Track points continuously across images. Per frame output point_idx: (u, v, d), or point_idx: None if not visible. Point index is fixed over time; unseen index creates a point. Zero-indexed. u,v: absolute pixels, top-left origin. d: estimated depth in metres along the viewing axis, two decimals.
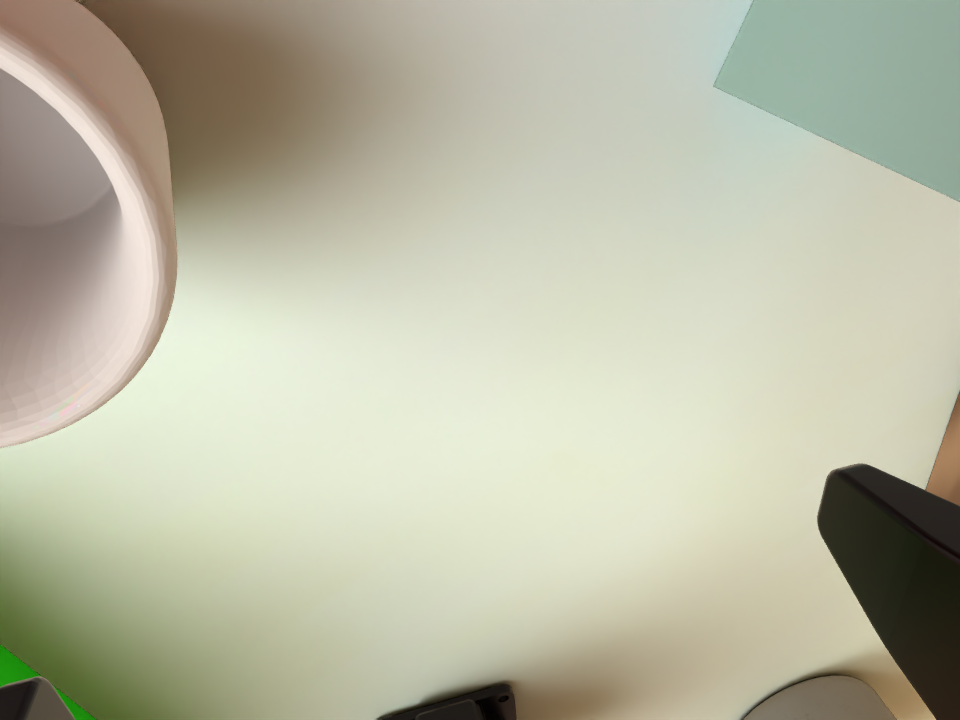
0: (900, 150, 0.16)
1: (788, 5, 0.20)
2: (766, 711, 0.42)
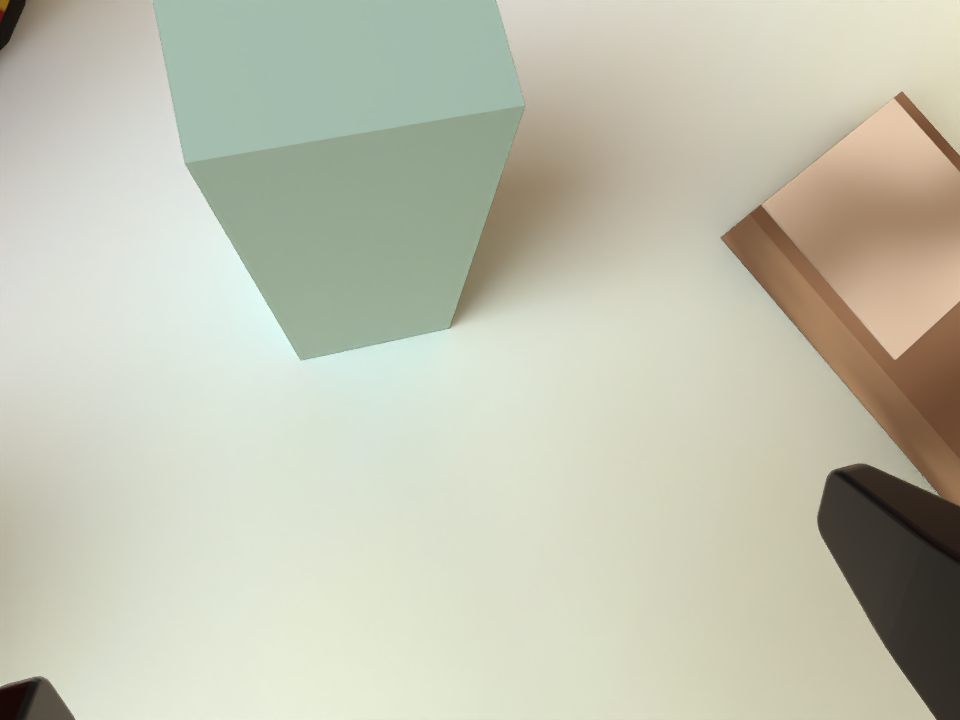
0: None
1: None
2: None
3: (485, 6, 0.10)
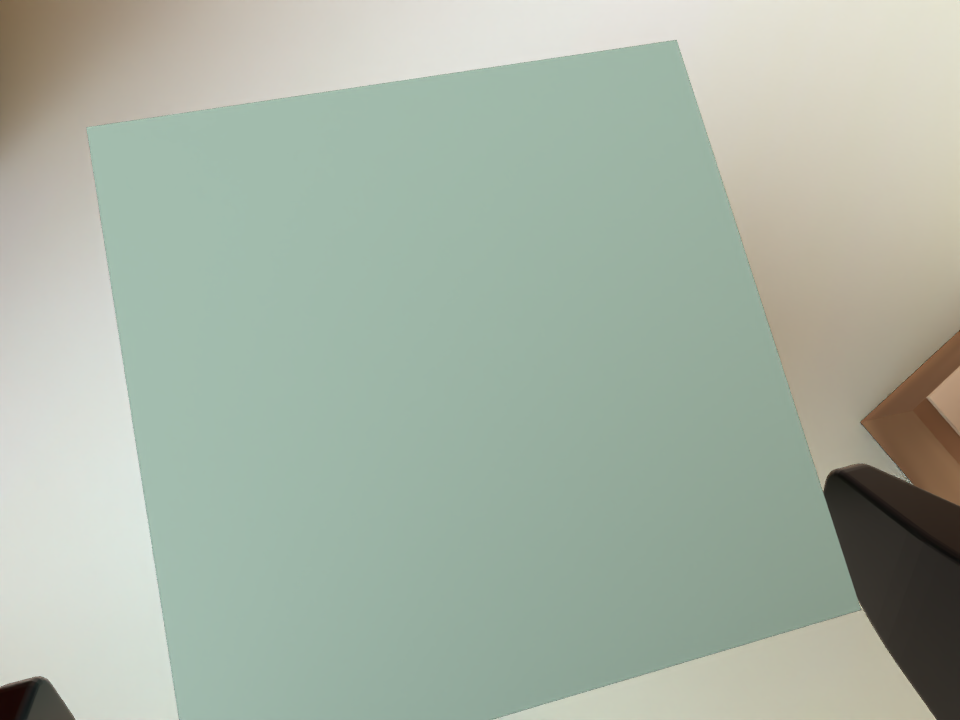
0: None
1: None
2: None
3: (771, 401, 0.05)
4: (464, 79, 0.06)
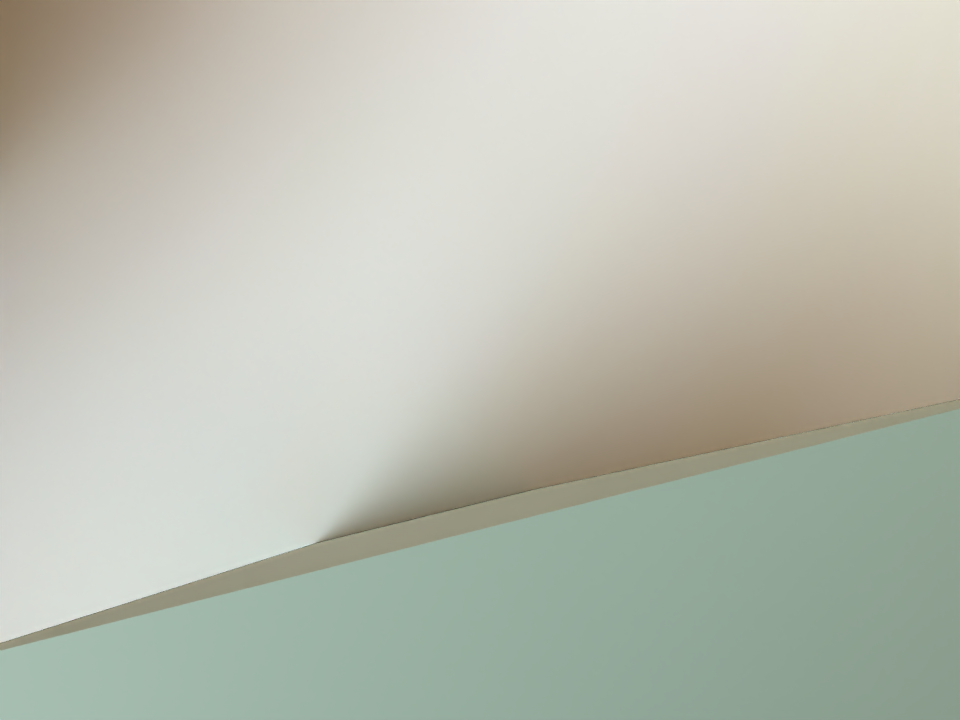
0: None
1: None
2: None
3: None
4: (773, 475, 0.03)
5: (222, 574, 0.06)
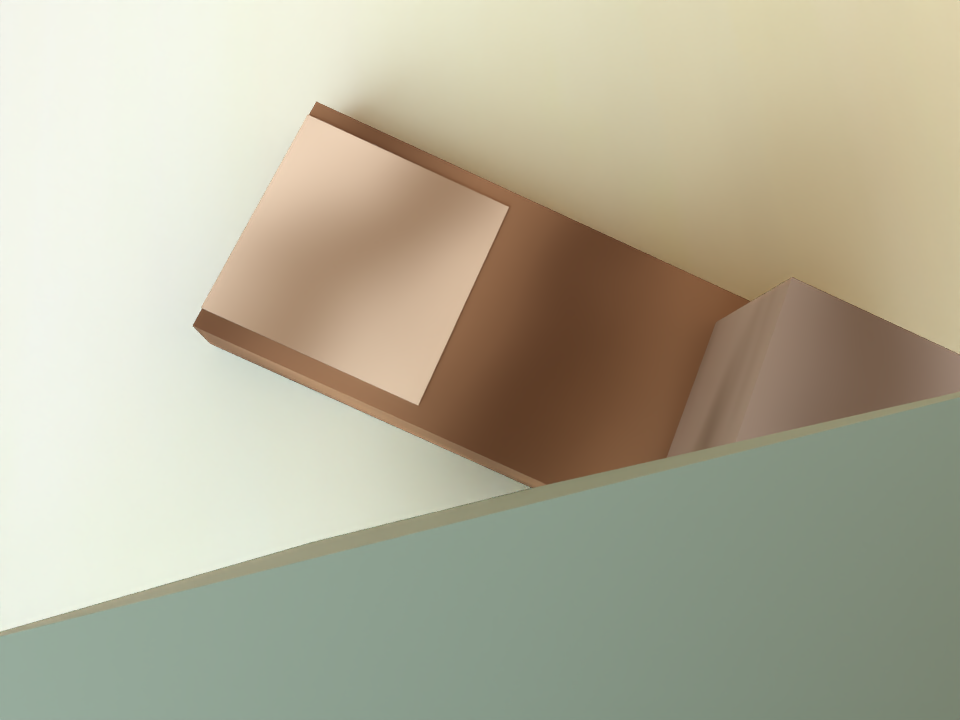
0: None
1: None
2: None
3: None
4: (773, 466, 0.03)
5: (221, 569, 0.06)
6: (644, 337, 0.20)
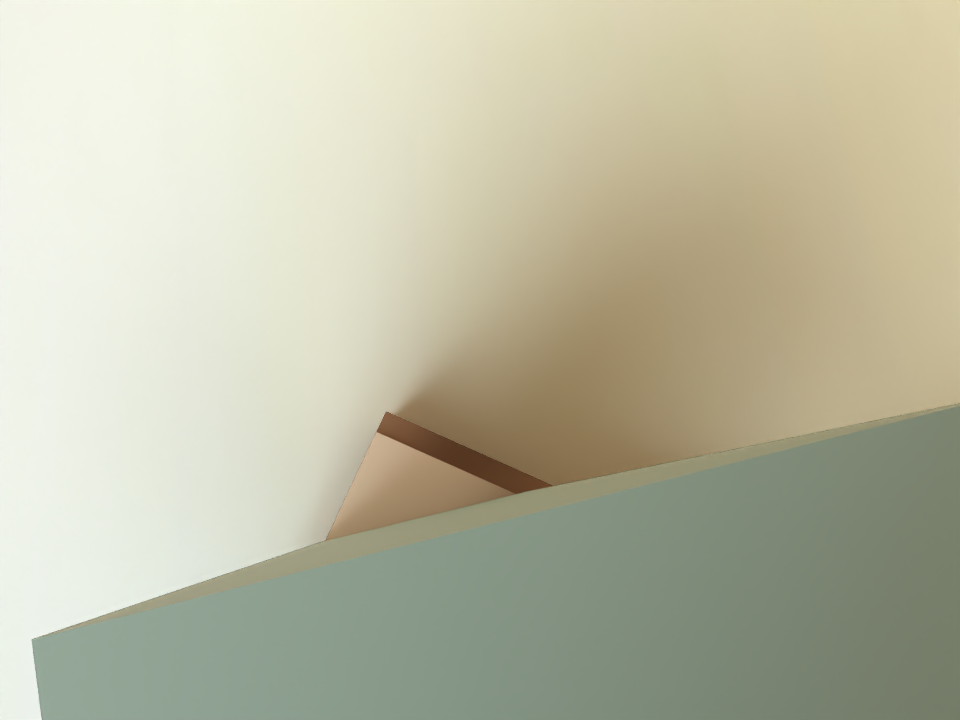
0: None
1: None
2: None
3: None
4: (683, 492, 0.03)
5: (245, 569, 0.06)
6: None
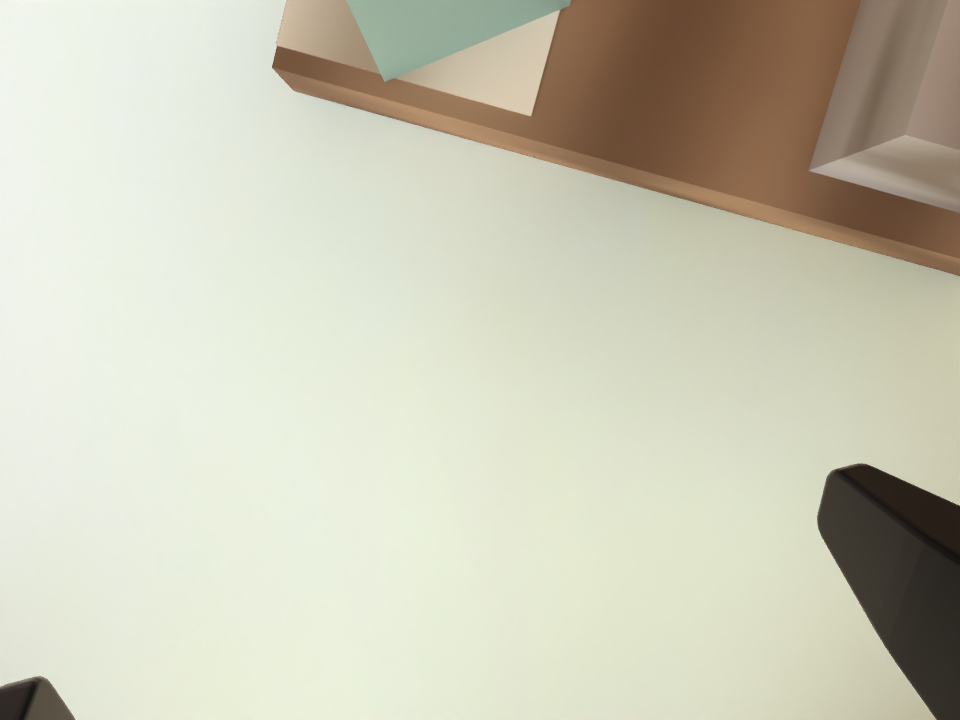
0: None
1: None
2: None
3: None
4: None
5: None
6: None
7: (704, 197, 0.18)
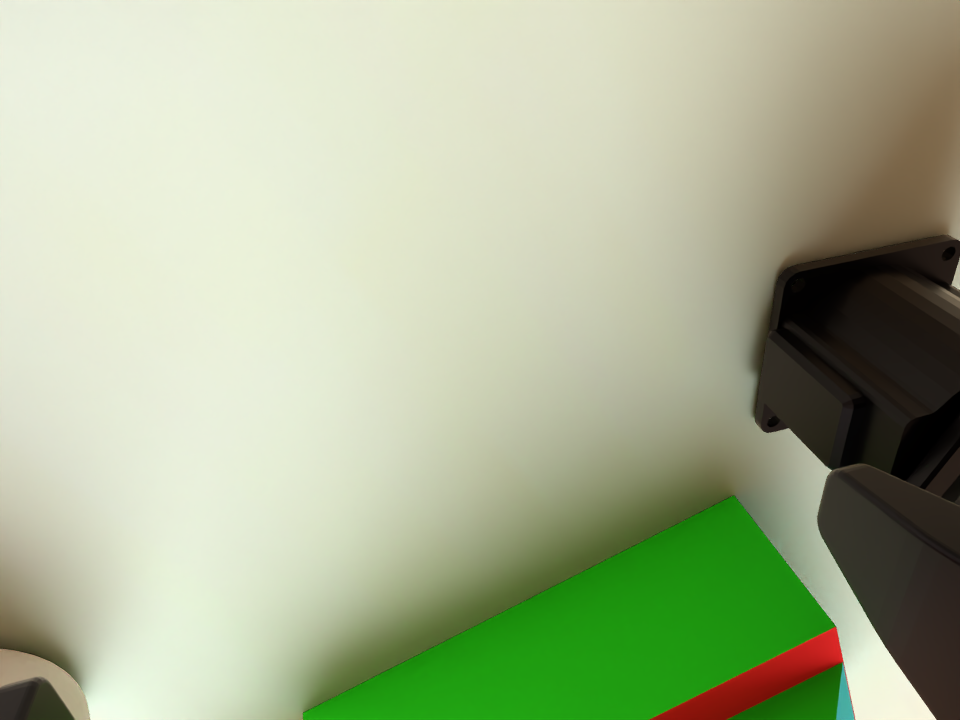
0: None
1: None
2: None
3: None
4: None
5: None
6: None
7: None
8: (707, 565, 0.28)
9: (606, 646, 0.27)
